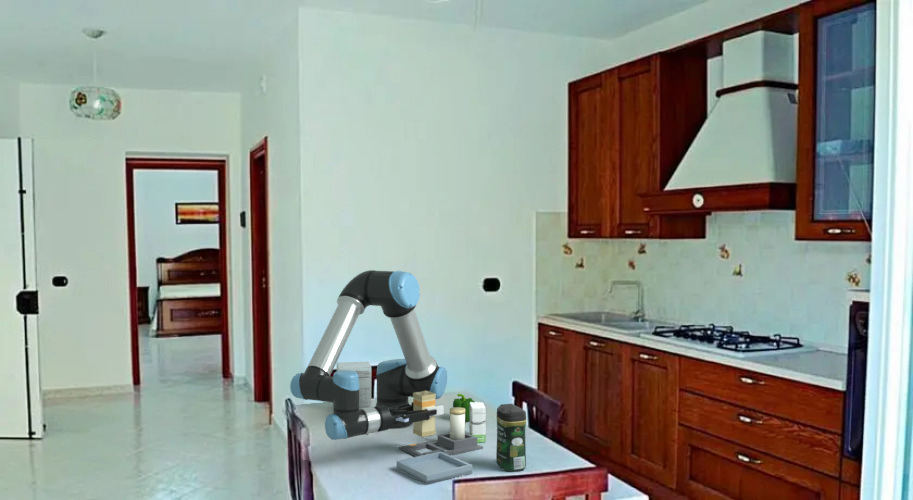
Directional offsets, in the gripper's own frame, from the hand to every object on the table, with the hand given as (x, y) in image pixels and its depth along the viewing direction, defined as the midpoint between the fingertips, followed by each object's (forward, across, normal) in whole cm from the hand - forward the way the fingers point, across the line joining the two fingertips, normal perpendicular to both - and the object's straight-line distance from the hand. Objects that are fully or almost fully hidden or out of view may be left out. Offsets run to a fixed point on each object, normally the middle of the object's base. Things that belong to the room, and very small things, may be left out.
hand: (437, 407), depth 231 cm
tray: (-13, +17, -13) cm, 25 cm away
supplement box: (+4, -64, -14) cm, 66 cm away
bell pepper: (+29, -24, -14) cm, 40 cm away
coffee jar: (+8, +27, -14) cm, 31 cm away
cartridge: (+8, 0, -14) cm, 16 cm away
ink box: (+18, -2, -14) cm, 23 cm away
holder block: (+1, 0, -14) cm, 14 cm away
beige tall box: (-5, 0, -8) cm, 9 cm away
